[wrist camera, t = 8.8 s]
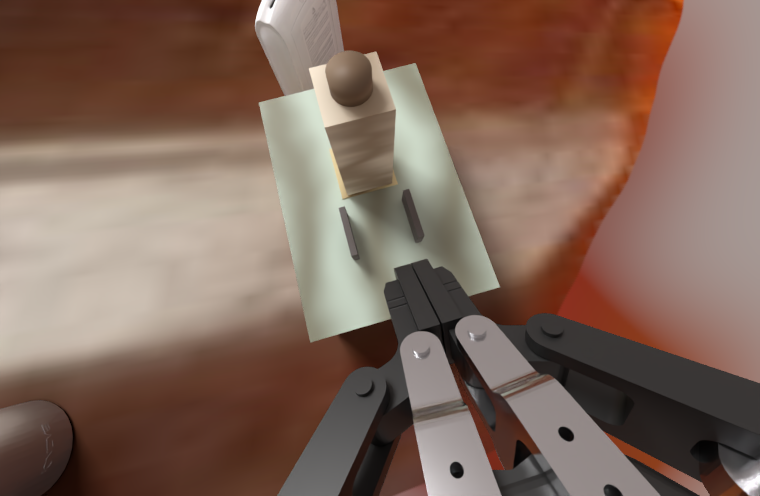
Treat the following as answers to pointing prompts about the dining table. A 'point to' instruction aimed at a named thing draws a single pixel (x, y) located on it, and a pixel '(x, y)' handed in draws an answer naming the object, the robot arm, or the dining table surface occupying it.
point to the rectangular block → (369, 210)
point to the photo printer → (298, 39)
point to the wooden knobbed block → (357, 118)
